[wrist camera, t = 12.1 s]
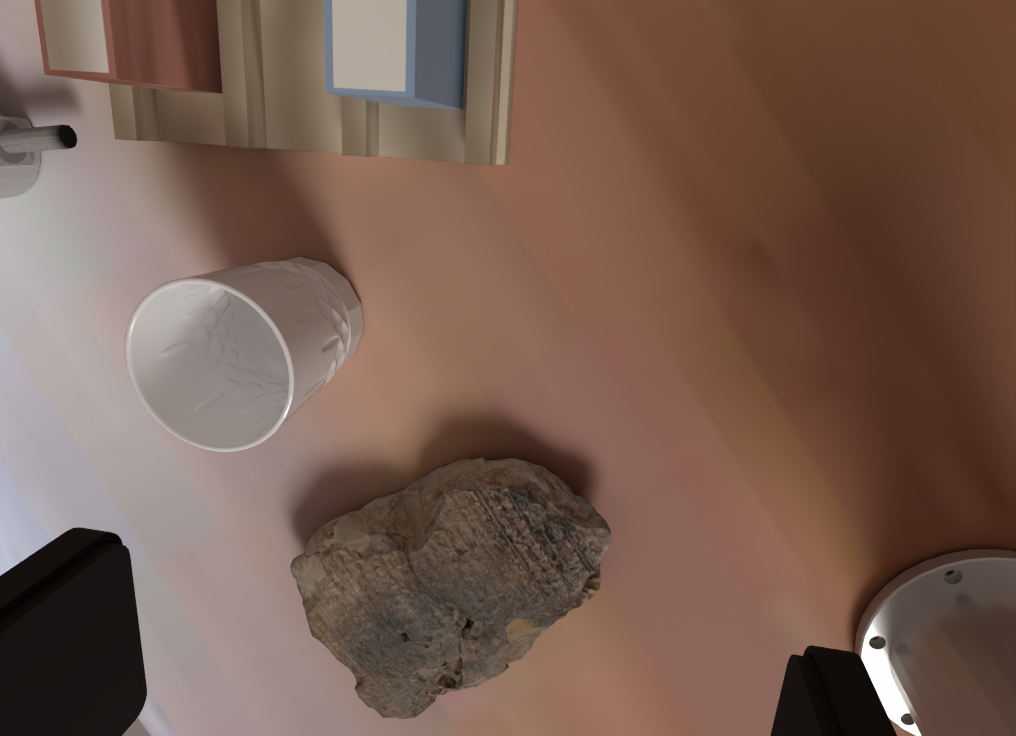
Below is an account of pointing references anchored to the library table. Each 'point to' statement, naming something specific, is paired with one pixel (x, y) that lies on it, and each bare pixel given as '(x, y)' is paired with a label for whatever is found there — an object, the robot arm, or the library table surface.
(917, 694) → the robot arm
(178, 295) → the white cup
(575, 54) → the library table surface
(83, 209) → the library table surface
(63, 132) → the grey machine model
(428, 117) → the book rack
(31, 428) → the library table surface
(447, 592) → the clay tablet
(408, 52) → the blue book
